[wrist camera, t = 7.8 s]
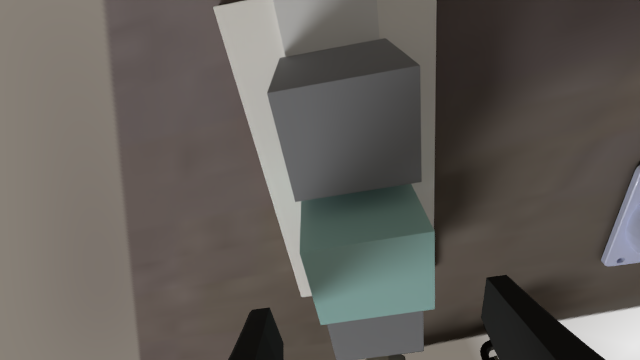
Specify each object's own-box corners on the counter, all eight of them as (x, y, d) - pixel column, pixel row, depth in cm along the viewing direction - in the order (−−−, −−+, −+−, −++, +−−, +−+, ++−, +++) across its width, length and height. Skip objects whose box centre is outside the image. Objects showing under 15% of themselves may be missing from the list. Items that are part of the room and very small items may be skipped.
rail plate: (430, -37, 13) (511, -48, 8) (429, 269, 23) (466, 359, 17) (217, 5, 14) (161, 23, 9) (301, 288, 23) (299, 380, 18)
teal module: (391, 145, 16) (434, 231, 11) (396, 209, 18) (435, 308, 13) (302, 160, 17) (299, 252, 11) (317, 222, 19) (320, 325, 13)
